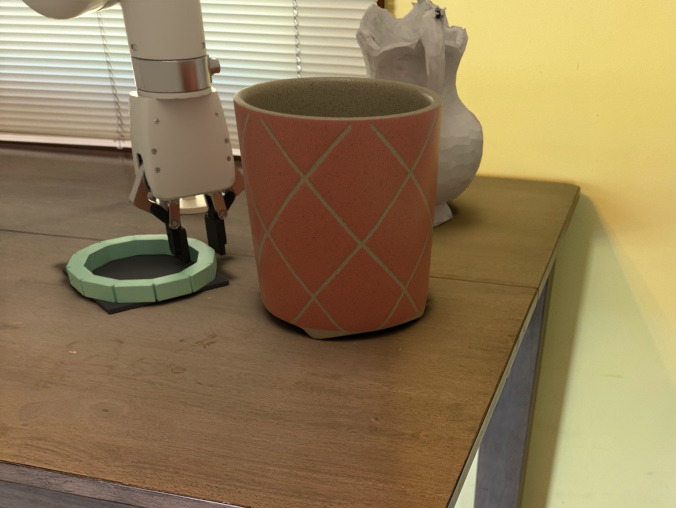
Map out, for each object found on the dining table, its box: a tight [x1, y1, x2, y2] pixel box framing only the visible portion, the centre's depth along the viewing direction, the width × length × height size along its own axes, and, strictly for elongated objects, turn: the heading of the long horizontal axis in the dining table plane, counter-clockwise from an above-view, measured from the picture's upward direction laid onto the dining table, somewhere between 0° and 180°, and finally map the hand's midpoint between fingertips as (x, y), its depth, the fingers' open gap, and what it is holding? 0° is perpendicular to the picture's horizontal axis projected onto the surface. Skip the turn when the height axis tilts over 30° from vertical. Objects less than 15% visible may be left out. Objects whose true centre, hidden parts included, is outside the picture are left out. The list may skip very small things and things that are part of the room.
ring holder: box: [155, 195, 208, 215], centre depth 105 cm, size 9×9×6 cm
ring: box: [65, 233, 218, 303], centre depth 85 cm, size 16×16×2 cm
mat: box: [62, 254, 230, 315], centre depth 86 cm, size 14×14×1 cm
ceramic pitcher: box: [355, 0, 484, 227], centre depth 97 cm, size 22×20×25 cm
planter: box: [232, 76, 443, 340], centre depth 75 cm, size 19×19×20 cm
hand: (200, 254), depth 89 cm, fingers open, 3 cm apart
